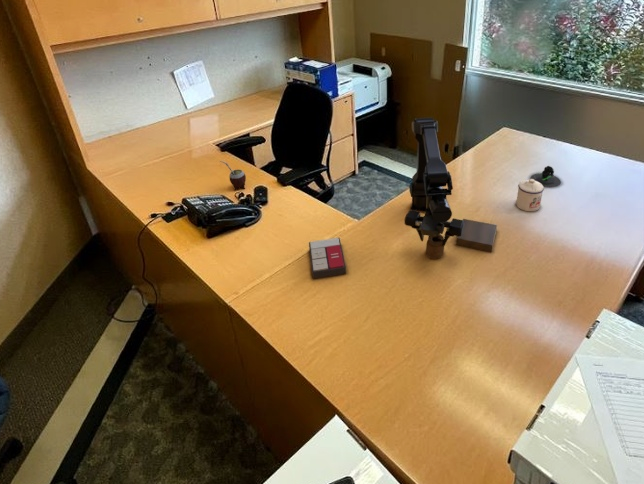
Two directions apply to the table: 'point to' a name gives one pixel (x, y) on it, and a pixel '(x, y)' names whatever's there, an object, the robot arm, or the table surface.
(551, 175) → the dark grey hat
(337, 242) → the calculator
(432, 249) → the utensil holder
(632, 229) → the table surface
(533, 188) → the teacup with lid
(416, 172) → the robot arm
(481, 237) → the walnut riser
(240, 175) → the mate gourd
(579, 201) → the table surface
